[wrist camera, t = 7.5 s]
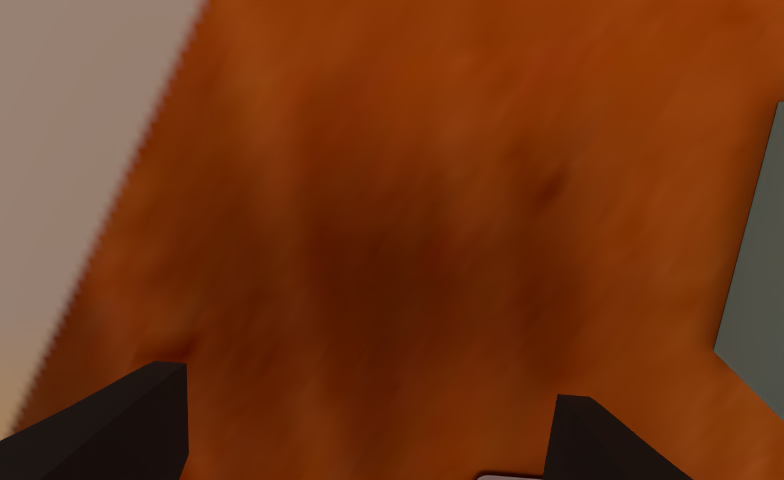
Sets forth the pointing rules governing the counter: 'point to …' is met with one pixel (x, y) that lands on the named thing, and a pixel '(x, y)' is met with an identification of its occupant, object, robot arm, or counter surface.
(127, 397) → the robot arm
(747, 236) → the teal open square box
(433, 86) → the counter surface
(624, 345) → the counter surface
